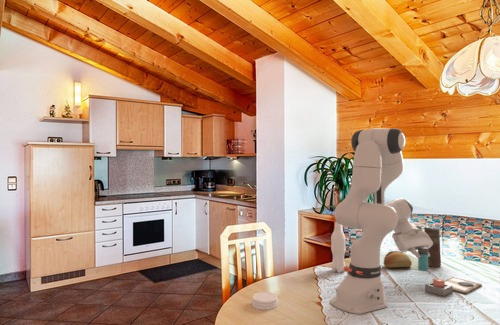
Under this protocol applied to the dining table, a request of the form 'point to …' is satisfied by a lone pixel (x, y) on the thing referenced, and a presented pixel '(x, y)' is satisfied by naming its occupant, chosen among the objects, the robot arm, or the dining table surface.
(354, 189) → the robot arm
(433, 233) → the candle
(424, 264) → the teal spice jar
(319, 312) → the dining table surface
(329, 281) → the dining table surface
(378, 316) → the dining table surface
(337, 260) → the water bottle
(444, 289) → the button housing
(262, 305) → the coaster
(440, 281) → the button
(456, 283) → the clipboard
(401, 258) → the bread roll
